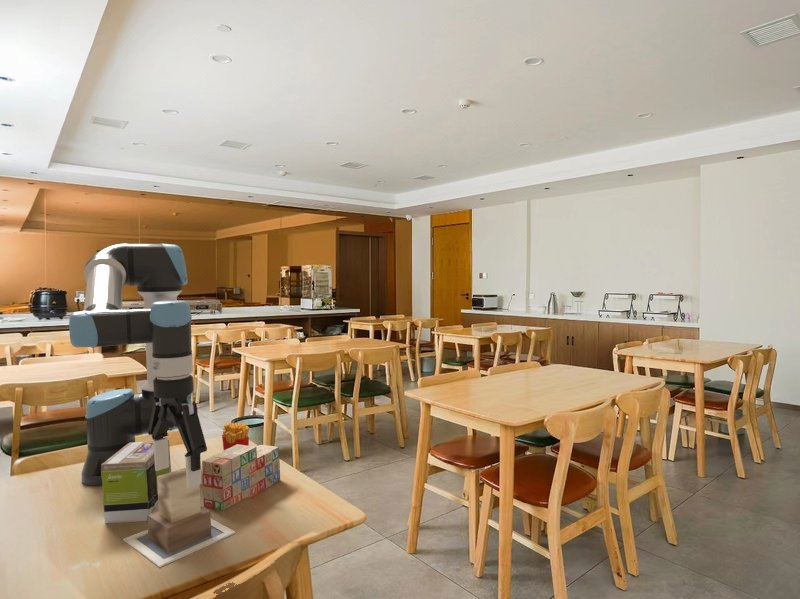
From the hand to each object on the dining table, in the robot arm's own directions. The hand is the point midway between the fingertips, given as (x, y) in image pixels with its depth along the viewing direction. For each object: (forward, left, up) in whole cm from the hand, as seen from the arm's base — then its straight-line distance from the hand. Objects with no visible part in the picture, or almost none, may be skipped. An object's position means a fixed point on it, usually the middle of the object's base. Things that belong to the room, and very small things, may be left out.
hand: (177, 477), depth 106 cm
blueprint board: (0, 0, -14) cm, 14 cm away
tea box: (-21, +1, -14) cm, 25 cm away
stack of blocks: (-9, +21, -14) cm, 27 cm away
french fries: (-26, +30, -14) cm, 42 cm away
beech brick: (0, 0, -8) cm, 8 cm away
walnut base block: (0, 0, -13) cm, 13 cm away
